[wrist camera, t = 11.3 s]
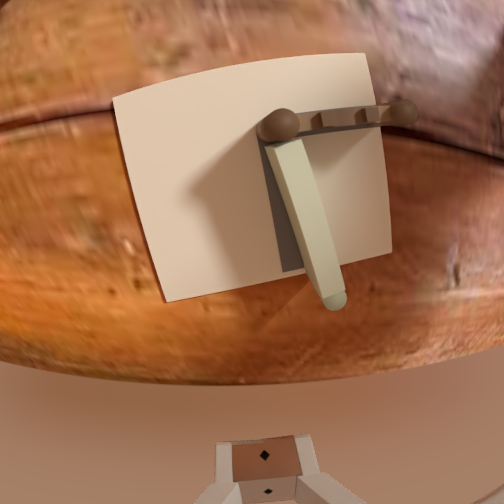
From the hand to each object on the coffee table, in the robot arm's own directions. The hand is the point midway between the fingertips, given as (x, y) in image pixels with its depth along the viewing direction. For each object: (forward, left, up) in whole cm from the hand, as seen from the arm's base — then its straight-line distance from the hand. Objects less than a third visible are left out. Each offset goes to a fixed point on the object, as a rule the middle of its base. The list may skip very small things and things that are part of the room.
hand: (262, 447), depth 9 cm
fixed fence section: (-9, -9, -20) cm, 24 cm away
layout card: (-3, -6, -20) cm, 21 cm away
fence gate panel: (-5, -2, -19) cm, 20 cm away
